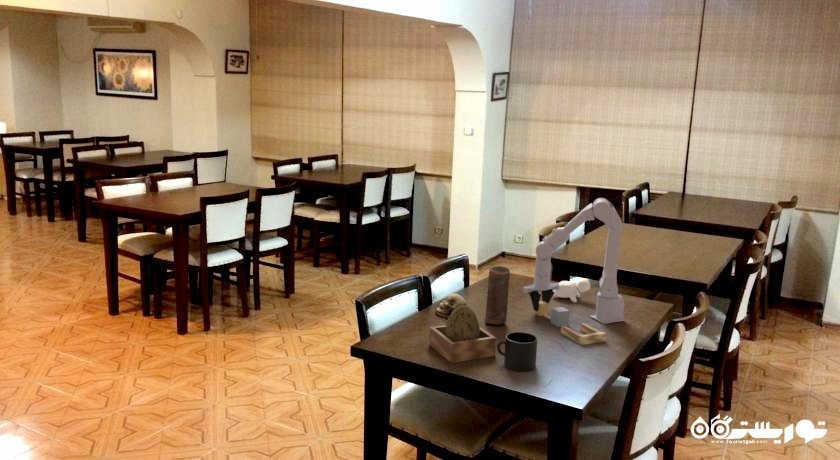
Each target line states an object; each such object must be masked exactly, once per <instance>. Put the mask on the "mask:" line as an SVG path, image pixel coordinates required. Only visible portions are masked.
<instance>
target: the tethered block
mask: <svg viewBox="0 0 840 460" xmlns="http://www.w3.org/2000/svg"><path fill="white" fill-rule="evenodd" d="M570 313H571V312H570V310H569V309H567V308H565V307H563V306H556V307H551V312H550V316H549V315H548V314H549V304H548V303H547V302H545V301H542V300H541V301H540V300H539V308H538V311H535V315H538V316H539V317H544V318H545V319H548V320H549V321H550V324H552V325H553V326H555V327H557V328H561V326H566V327H569V324H570Z"/></svg>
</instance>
